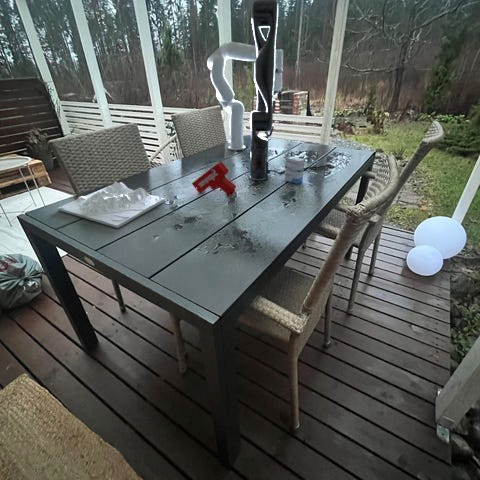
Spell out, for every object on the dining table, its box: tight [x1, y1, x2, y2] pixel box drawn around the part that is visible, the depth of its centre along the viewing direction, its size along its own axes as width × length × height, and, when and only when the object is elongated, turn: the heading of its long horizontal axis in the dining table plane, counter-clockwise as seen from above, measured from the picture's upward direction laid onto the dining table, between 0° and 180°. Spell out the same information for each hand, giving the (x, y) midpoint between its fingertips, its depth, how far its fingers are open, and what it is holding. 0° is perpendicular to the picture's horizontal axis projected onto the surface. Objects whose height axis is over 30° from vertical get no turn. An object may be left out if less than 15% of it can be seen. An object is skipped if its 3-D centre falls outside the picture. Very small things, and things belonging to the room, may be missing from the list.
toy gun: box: [191, 161, 237, 197], centre depth 128 cm, size 18×4×15 cm
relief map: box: [57, 180, 166, 229], centre depth 118 cm, size 27×35×5 cm
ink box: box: [284, 156, 306, 185], centre depth 140 cm, size 8×5×12 cm, turn 47°
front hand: (261, 143), depth 163 cm, fingers closed on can, 4 cm apart
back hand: (274, 99), depth 195 cm, fingers open, 9 cm apart
